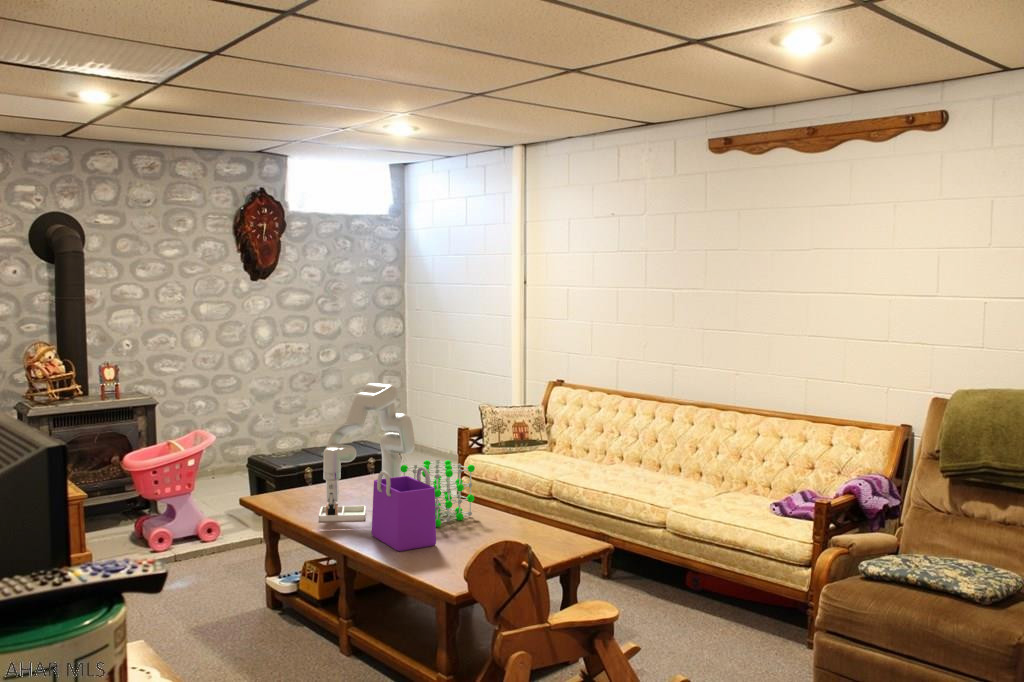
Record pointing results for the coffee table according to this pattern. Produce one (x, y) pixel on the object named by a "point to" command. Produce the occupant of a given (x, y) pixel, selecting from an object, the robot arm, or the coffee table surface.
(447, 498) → the molecular structure model
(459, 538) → the coffee table surface
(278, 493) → the coffee table surface
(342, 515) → the sorting box
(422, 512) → the shopping bag
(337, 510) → the plain light orange cube
